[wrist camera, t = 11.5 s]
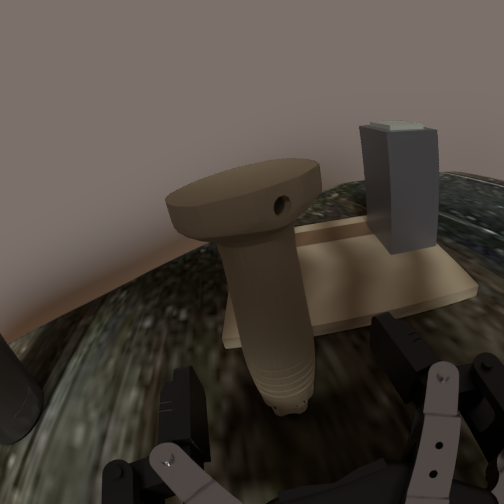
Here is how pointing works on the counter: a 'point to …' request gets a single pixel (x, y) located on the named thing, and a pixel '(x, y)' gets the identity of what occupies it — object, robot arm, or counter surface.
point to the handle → (260, 266)
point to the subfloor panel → (365, 279)
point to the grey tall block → (401, 183)
